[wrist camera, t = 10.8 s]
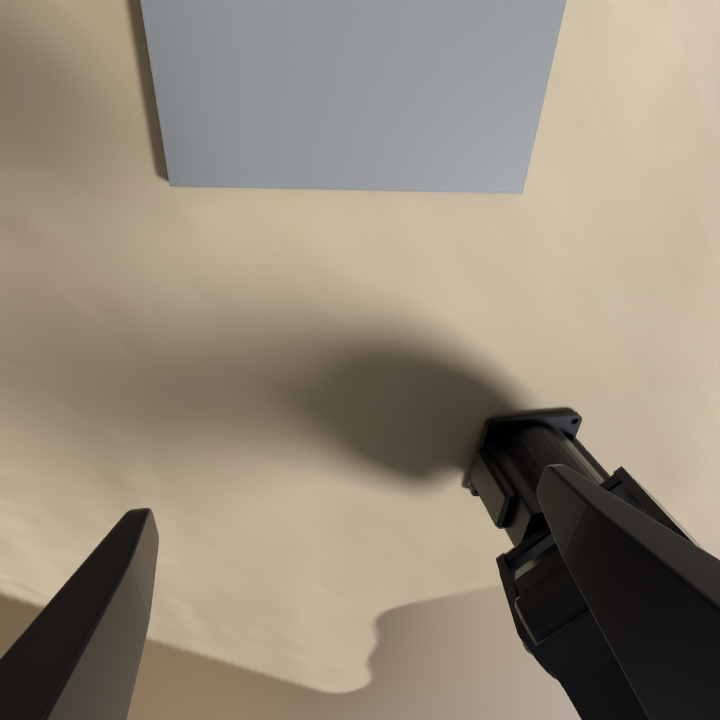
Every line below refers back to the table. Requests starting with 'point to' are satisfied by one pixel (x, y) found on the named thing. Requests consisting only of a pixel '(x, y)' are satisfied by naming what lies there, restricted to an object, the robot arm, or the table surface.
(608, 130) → the table surface
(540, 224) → the table surface
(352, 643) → the table surface
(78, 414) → the table surface
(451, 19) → the square frame board
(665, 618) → the robot arm
